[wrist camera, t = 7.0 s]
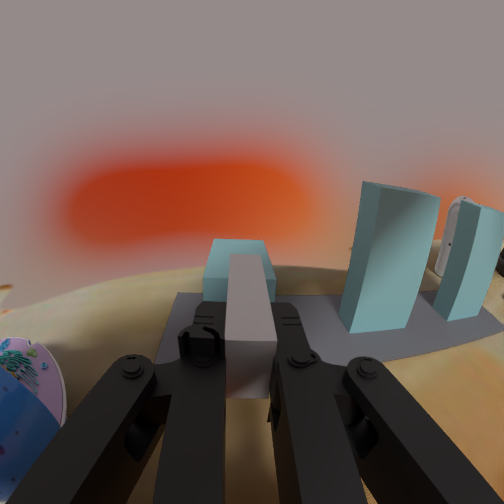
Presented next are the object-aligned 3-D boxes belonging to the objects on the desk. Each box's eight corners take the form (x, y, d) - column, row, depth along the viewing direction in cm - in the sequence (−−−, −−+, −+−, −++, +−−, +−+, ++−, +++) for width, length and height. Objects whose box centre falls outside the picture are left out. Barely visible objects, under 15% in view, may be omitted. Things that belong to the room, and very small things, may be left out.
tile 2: (390, 309, 24) (418, 190, 20) (405, 327, 21) (440, 197, 17) (337, 312, 24) (361, 180, 20) (349, 333, 21) (380, 187, 17)
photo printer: (453, 283, 31) (474, 200, 27) (430, 273, 34) (448, 192, 30) (465, 268, 37) (481, 200, 32) (446, 260, 40) (460, 193, 35)
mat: (460, 291, 29) (461, 288, 29) (504, 330, 19) (506, 327, 19) (178, 295, 26) (177, 292, 26) (154, 367, 17) (154, 363, 17)
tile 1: (462, 302, 25) (489, 207, 21) (477, 315, 22) (508, 214, 18) (431, 305, 25) (459, 199, 20) (446, 321, 22) (481, 207, 17)
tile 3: (273, 313, 23) (261, 264, 35) (276, 279, 22) (263, 240, 34) (203, 311, 23) (213, 263, 34) (203, 277, 22) (214, 238, 33)
